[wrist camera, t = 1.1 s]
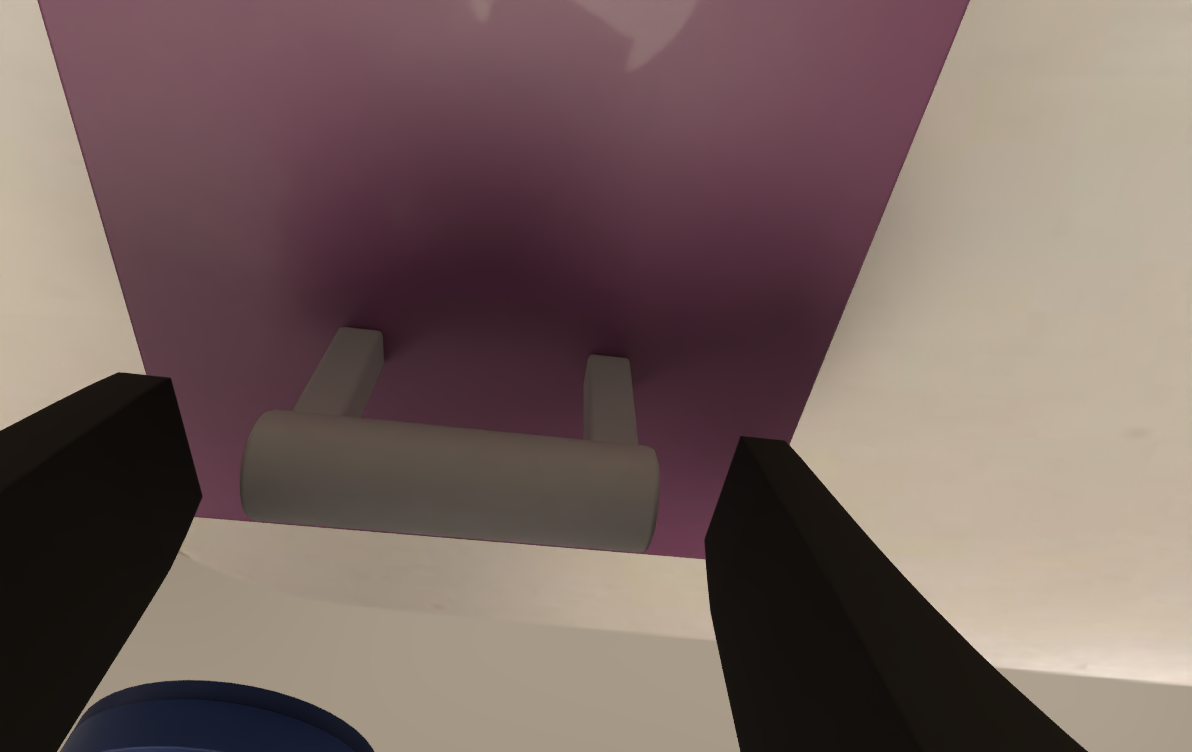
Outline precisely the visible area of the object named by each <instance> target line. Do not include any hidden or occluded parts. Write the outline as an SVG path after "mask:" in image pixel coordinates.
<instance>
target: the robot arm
mask: <svg viewBox="0 0 1192 752" xmlns="http://www.w3.org/2000/svg"><path fill="white" fill-rule="evenodd" d="M202 497H203V495H202V492H201V488H200V484H199V480H198V477H197V473H196V469H195V465H194V462H193V458H192V454H191V451H190V447H189V443H188V439H187V436H186V432H185V428H184V424H183V421H182V417H181V413H180V410H179V406H178V402H177V398H176V395H175V391H174V387H173V383H172V380H171V378H169V377H160V376H150V375H140V374H130V373H120V372H118V373H116V374H114V375H111V376H109V377H107V378H105V379H102V380H100V381H98V382H96V383H94V384H92V385H90V386H87V387H85V388H83V389H81V390H79V391H77V392H75V393H73V394H71V395H69V396H67V397H65V398H63V399H61V400H59V401H57V402H55V403H53V404H51V405H50V406H48V407H46V408H44V409H42V410H40V411H38V412H36V413H34V414H32V415H30V416H28V417H26V418H24V419H22V420H21V421H19V422H17V423H15V424H13V425H11V426H9V427H7V428H5V429H3V430H1V431H0V752H57V751H58V749H59V747H60V746H61V744H62V742H63V741H64V739H65V738H66V736H67V734H68V733H69V731H70V730H71V728H72V726H73V725H74V723H75V722H76V720H77V719H78V717H79V715H80V714H81V712H82V710H83V709H84V707H85V706H86V704H87V703H88V701H89V699H90V698H91V696H92V695H93V693H94V691H95V690H96V688H97V686H98V685H99V684H100V682H101V680H102V679H103V677H104V676H105V674H106V672H107V671H108V669H109V668H110V666H111V664H112V663H113V661H114V660H115V658H116V656H117V655H118V653H119V652H120V650H121V649H122V647H123V645H124V644H125V642H126V641H127V639H128V637H129V636H130V634H131V633H132V631H133V629H134V628H135V626H136V624H137V623H138V621H139V620H140V618H141V616H142V615H143V613H144V612H145V610H146V608H147V607H148V605H149V603H150V602H151V600H152V599H153V597H154V595H155V594H156V592H157V590H158V589H159V587H160V585H161V584H162V582H163V580H164V579H165V577H166V575H167V574H168V572H169V570H170V569H171V566H172V564H173V562H174V560H175V558H176V556H177V554H178V552H179V550H180V547H181V545H182V543H183V541H184V539H185V537H186V535H187V532H188V530H189V528H190V525H191V523H192V521H193V518H194V516H195V514H196V511H197V509H198V507H199V504H200V502H201V500H202ZM704 544H705V557H706V570H707V582H708V592H709V602H710V611H711V616H712V621H713V626H714V631H715V636H716V640H717V645H718V650H719V655H720V659H721V664H722V669H723V673H724V678H725V683H726V687H727V692H728V696H729V701H730V706H731V710H732V715H733V719H734V724H735V729H736V733H737V738H738V742H739V747H740V752H1088V751H1086V750H1085V749H1084V748H1083V747H1081V746H1080V745H1079V744H1078V743H1077V742H1076V741H1075V740H1074V739H1072V738H1071V737H1070V736H1069V735H1068V734H1067V733H1065V732H1064V731H1063V730H1062V729H1061V728H1060V727H1059V726H1057V724H1056V723H1054V722H1053V721H1052V720H1051V719H1050V718H1049V717H1048V716H1046V715H1045V714H1044V713H1043V712H1042V711H1041V710H1040V709H1039V708H1038V707H1037V706H1036V705H1034V704H1033V703H1032V702H1031V701H1030V700H1029V699H1028V698H1027V697H1026V696H1025V695H1023V694H1022V693H1021V692H1020V691H1019V690H1018V689H1017V688H1016V687H1015V686H1013V685H1012V684H1011V683H1010V682H1009V681H1008V680H1007V679H1006V678H1005V677H1003V676H1002V675H1001V674H1000V673H999V672H998V671H997V670H996V669H995V668H994V667H993V666H992V665H991V664H990V663H989V662H988V661H987V660H986V659H985V658H984V657H983V656H982V655H980V654H979V653H978V652H977V651H976V650H975V649H974V648H973V647H972V646H971V645H970V644H969V643H968V642H967V641H966V640H965V639H964V638H963V637H962V636H961V635H960V634H959V633H958V632H957V630H956V629H955V628H954V627H953V626H952V625H951V624H950V623H949V622H948V621H947V620H946V619H945V618H944V617H943V616H942V615H941V614H940V613H939V612H938V611H937V610H936V609H935V608H934V607H933V606H932V605H931V604H930V603H929V602H928V601H927V600H926V599H925V598H924V597H923V596H922V595H921V594H920V593H919V592H918V590H917V589H916V588H915V587H914V586H913V585H912V584H911V583H910V582H909V581H908V580H907V579H906V578H905V577H904V576H903V574H902V573H901V572H900V571H899V570H898V569H897V568H896V567H895V566H894V565H893V563H892V562H891V561H890V560H889V559H888V558H887V557H886V556H885V555H884V554H883V552H882V551H881V550H880V549H879V548H878V547H877V546H876V545H875V543H874V542H873V541H872V540H871V539H870V538H869V537H868V536H867V534H866V533H865V532H864V531H863V530H862V529H861V528H860V526H859V525H858V524H857V523H856V522H855V521H854V520H853V518H852V517H851V516H850V515H849V514H848V513H847V511H846V510H845V509H844V508H843V507H842V506H841V504H840V503H839V502H838V501H837V500H836V499H835V497H834V496H833V495H832V494H831V493H830V492H829V490H828V489H827V488H826V487H825V486H824V485H823V483H822V482H821V481H820V480H819V479H818V478H817V476H816V475H815V474H814V473H813V472H812V470H811V469H810V468H809V467H808V466H807V465H806V463H805V462H804V461H803V460H802V459H801V458H800V457H799V455H798V454H797V453H796V452H795V451H794V450H793V449H792V448H791V447H790V445H789V444H788V443H787V442H786V441H785V440H776V439H766V438H757V437H747V436H740V439H739V442H738V445H737V447H736V450H735V453H734V456H733V459H732V462H731V465H730V467H729V470H728V473H727V476H726V479H725V482H724V485H723V487H722V490H721V493H720V496H719V499H718V502H717V505H716V507H715V510H714V513H713V516H712V519H711V522H710V525H709V527H708V530H707V533H706V536H705V539H704Z"/></svg>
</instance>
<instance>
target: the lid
mask: <svg viewBox="0 0 1192 752" xmlns="http://www.w3.org/2000/svg"><path fill="white" fill-rule="evenodd" d="M969 1H970V0H38V4H39V7H40V11H41V14H42V17H43V21H44V24H45V28H46V31H47V35H48V38H49V41H50V45H51V48H52V52H53V55H54V59H55V62H56V66H57V69H58V72H59V76H60V79H61V83H62V86H63V90H64V93H65V96H66V100H67V103H68V107H69V110H70V114H71V117H72V121H73V124H74V127H75V131H76V134H77V138H78V141H79V145H80V148H81V151H82V155H83V158H84V162H85V165H86V169H87V172H88V176H89V179H90V182H91V186H92V189H93V193H94V196H95V200H96V203H97V206H98V210H99V213H100V217H101V220H102V224H103V227H104V231H105V234H106V237H107V241H108V244H109V248H110V251H111V255H112V258H113V261H114V265H115V268H116V272H117V275H118V279H119V282H120V286H121V289H122V292H123V296H124V299H125V303H126V306H127V310H128V313H129V316H130V320H131V323H132V327H133V330H134V334H135V337H136V341H137V344H138V347H139V351H140V354H141V358H142V361H143V365H144V368H145V371H146V375H150V376H160V377H169V378H171V380H172V383H173V387H174V391H175V395H176V398H177V402H178V406H179V410H180V413H181V417H182V421H183V424H184V428H185V432H186V436H187V439H188V443H189V447H190V451H191V454H192V458H193V462H194V465H195V469H196V473H197V477H198V480H199V484H200V488H201V492H202V495H203V497H202V500H201V502H200V504H199V507H198V509H197V511H196V514H195V516H194V517H202V518H214V519H226V520H238V521H250V522H262V523H274V524H286V525H298V526H310V527H322V528H334V529H346V530H359V531H371V532H383V533H395V534H407V535H419V536H431V537H443V538H455V539H467V540H479V541H491V542H503V543H516V544H528V545H540V546H552V547H564V548H576V549H588V550H600V551H612V552H624V553H636V554H648V555H661V556H673V557H685V558H697V559H706V557H705V544H704V539H705V536H706V533H707V530H708V527H709V525H710V522H711V519H712V516H713V513H714V510H715V507H716V505H717V502H718V499H719V496H720V493H721V490H722V487H723V485H724V482H725V479H726V476H727V473H728V470H729V467H730V465H731V462H732V459H733V456H734V453H735V450H736V447H737V445H738V442H739V439H740V436H747V437H757V438H766V439H776V440H785V441H786V442H787V443H788V444H790V442H791V439H792V437H793V434H794V432H795V429H796V427H797V424H798V422H799V420H800V417H801V415H802V412H803V410H804V407H805V405H806V402H807V400H808V397H809V395H810V393H811V390H812V388H813V385H814V383H815V380H816V378H817V375H818V373H819V370H820V368H821V365H822V363H823V361H824V358H825V356H826V353H827V351H828V348H829V346H830V343H831V341H832V338H833V336H834V333H835V331H836V329H837V326H838V324H839V321H840V319H841V316H842V314H843V311H844V309H845V306H846V304H847V301H848V299H849V297H850V294H851V292H852V289H853V287H854V284H855V282H856V279H857V277H858V274H859V272H860V270H861V267H862V265H863V262H864V260H865V257H866V255H867V252H868V250H869V247H870V245H871V242H872V240H873V238H874V235H875V233H876V230H877V228H878V225H879V223H880V220H881V218H882V215H883V213H884V210H885V208H886V206H887V203H888V201H889V198H890V196H891V193H892V191H893V188H894V186H895V183H896V181H897V178H898V176H899V174H900V171H901V169H902V166H903V164H904V161H905V159H906V156H907V154H908V151H909V149H910V146H911V144H912V142H913V139H914V137H915V134H916V132H917V129H918V127H919V124H920V122H921V119H922V117H923V115H924V112H925V110H926V107H927V105H928V102H929V100H930V97H931V95H932V92H933V90H934V87H935V85H936V83H937V80H938V78H939V75H940V73H941V70H942V68H943V65H944V63H945V60H946V58H947V55H948V53H949V51H950V48H951V46H952V43H953V41H954V38H955V36H956V33H957V31H958V28H959V26H960V23H961V21H962V19H963V16H964V14H965V11H966V9H967V6H968V4H969Z"/></svg>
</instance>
